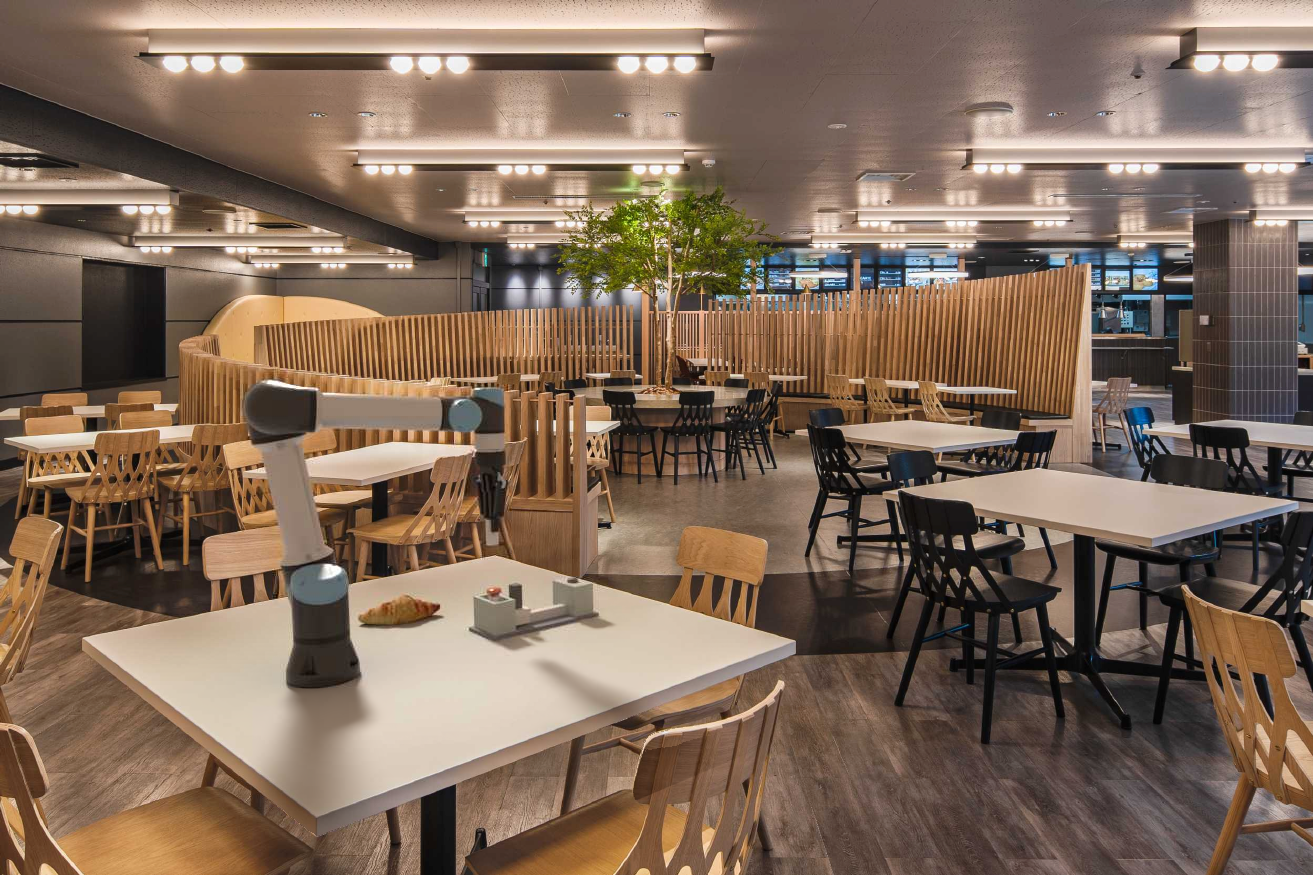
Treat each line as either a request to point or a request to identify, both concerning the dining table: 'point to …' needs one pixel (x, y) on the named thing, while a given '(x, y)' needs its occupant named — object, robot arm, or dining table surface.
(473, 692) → the dining table surface
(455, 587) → the dining table surface
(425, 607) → the croissant
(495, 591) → the ball
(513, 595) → the block
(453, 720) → the dining table surface
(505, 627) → the rail fixture
